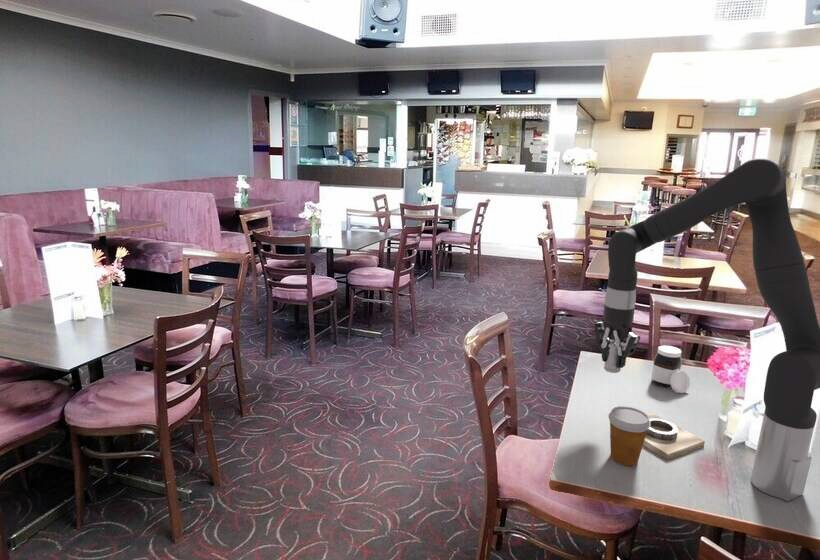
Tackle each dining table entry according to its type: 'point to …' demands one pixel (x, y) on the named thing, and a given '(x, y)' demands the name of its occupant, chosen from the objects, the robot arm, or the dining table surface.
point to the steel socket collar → (662, 435)
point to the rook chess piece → (612, 359)
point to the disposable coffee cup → (627, 434)
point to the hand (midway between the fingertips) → (612, 363)
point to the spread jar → (670, 369)
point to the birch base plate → (672, 442)
